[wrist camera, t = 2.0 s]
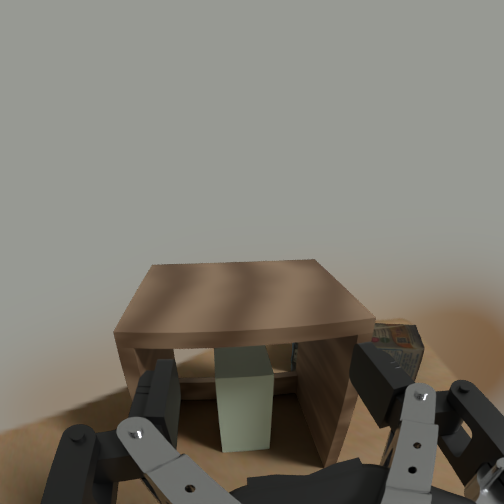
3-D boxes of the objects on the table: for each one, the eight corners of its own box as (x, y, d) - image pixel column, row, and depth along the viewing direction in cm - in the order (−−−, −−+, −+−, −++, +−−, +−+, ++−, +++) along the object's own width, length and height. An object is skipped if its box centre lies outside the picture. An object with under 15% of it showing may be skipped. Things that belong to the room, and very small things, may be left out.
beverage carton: (298, 345, 48) (301, 310, 46) (409, 355, 42) (419, 321, 41) (288, 374, 41) (291, 335, 39) (416, 385, 35) (429, 347, 33)
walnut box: (162, 480, 22) (113, 331, 17) (172, 394, 35) (152, 264, 31) (335, 465, 24) (375, 317, 19) (302, 386, 37) (314, 259, 33)
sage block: (222, 452, 26) (215, 378, 24) (220, 420, 31) (214, 346, 28) (269, 448, 27) (274, 374, 24) (262, 417, 32) (264, 344, 29)
